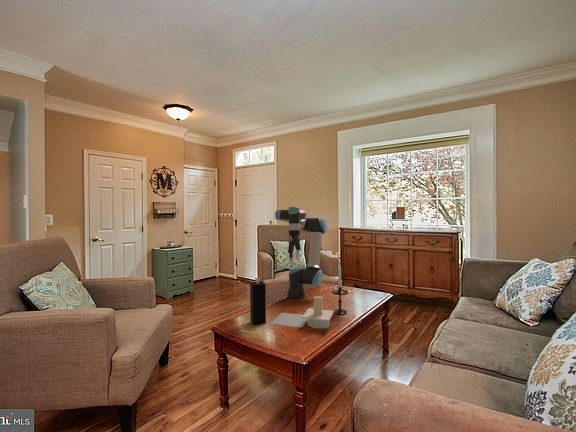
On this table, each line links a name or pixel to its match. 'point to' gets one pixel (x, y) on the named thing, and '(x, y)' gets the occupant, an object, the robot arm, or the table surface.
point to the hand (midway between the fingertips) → (294, 261)
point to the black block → (257, 302)
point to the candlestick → (339, 292)
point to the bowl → (318, 323)
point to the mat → (289, 320)
